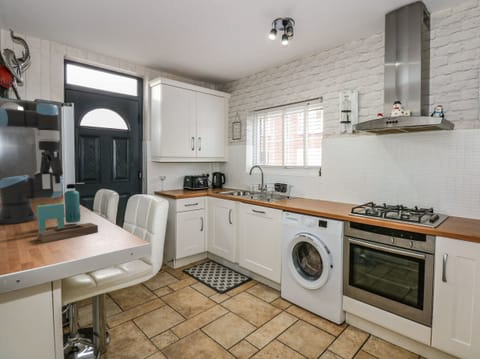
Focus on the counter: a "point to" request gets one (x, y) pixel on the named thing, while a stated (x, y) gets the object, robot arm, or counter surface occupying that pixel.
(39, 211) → the notched teal block
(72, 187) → the beverage bottle
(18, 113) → the robot arm
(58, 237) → the rail
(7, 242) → the counter surface
